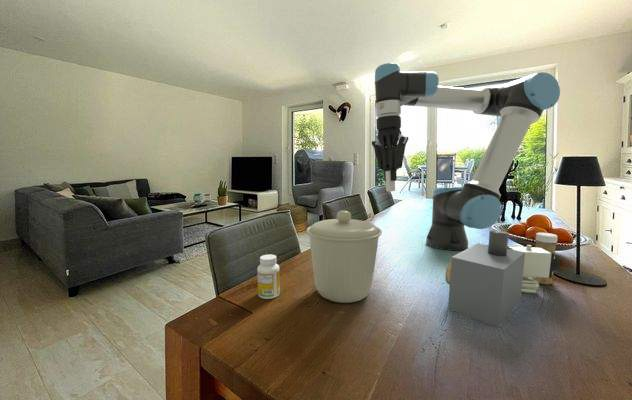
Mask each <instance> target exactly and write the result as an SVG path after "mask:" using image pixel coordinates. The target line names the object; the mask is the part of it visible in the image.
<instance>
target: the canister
mask: <svg viewBox="0 0 632 400" xmlns="http://www.w3.org/2000/svg"><path fill="white" fill-rule="evenodd" d="M382 231H383V230H382V229H380V227H377V226H376V225H375V224H373V223H371V222H369V221H366V220H365V221H364V220H361V219H352V213H351V212H350V211H348V210H339V211H338V212H337V214H336V218H331V219H324V220H320V221H316V222H314V223H313V224H311V225H310V226H308V227H307V228H306V234H308V236H309V243H310V244H309V245H310V254H311V263H312V269H313V271H312V273H313V277H314V284H315V287H316V288H315V289H316V290H317V292H318V295H321V297H323V298H324V299H325V300H327V301H330V302H334V303H338V304H339V303H341V304H350V303H355V302H359V301H362V300H363V299H365V298H366V297H367V296H368V295H369V293H370V291H371V288H372V284H373V278H374V277H373V276H374V272H375V266H376V259H377V252H378V246H379V237H380V236H381V235H382V234H383V233H382Z"/></svg>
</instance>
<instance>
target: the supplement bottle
mask: <svg viewBox="0 0 632 400" xmlns="http://www.w3.org/2000/svg"><path fill="white" fill-rule="evenodd" d="M259 262H260V263H259V264H258V266H257V269H256V270H257V295H258V297H259V298H261V299H264V300H271V299H275V298H277V297H278V296H279V295H280V293H281V286H280V285H281V284H280V282H281V281H280V279H281V277H280V271H281V270H280V265H279V264H278V263H277V255H275V254H263V255H260V257H259Z"/></svg>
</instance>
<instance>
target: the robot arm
mask: <svg viewBox="0 0 632 400" xmlns="http://www.w3.org/2000/svg"><path fill="white" fill-rule="evenodd" d="M400 68H401V67H400V64H398V63H395V62H386V63H383V64H380V65H378V66H377V68H376V69H375V70H374V88H375V89H374V91H375V112H376V113H375V114H376V115H375V117H377V118H376V121H375V122H376V130H377V135H376V137H377V138H376V139H375V140H372V141H371V145H372V147H373V151H374V153H375V158H376V163H377V167H378V169H379V170H381V171H383V179H384V182H385V192H395V191H396V181H397V179H398V178H397V171H398V170H399V169H402V167H403V163H404V156H405V151H406V145H407V143H408V141H409V137H408V136H405V135H403V134H402V131H401V127H402V117H401V116H400V115H401V114H402V113H401V112H402V108H401V107H402V106H414V107H424V108H435V109H437V108H438V109H447V110H448V109H450V110H458V111H459V110H460V111H461V110H462V111H472V112H473V113H474V114H477V115H485V116H494V117H495V116H496V117H501V119H500V122H499V124H498V125H497V128H496V129H495V132H494V133H493V136H492V138H491V140H490V141H489V144H488V146H487V148H486V150H485V152H484V155H482V158H481V160H480V163H479V164H478V167H477V169H476V170H475V173H474V175H473V177H472V179H471V180H470V181H467V182H465V183H464V184H463V186H450V187H449V186H448V187H447V186H444V187H437V188H434V191H433V195H432V214H431V218H432V219H431V226H430V229H429V230H428V233H427V235H426V239H425V240H426V241H425V243H426V244H427V245H428V246H429V245H431V246H430V247H432V246H433V247H432V248H435V247H437V248H436V249H439V248H441V249H440V250H445V249H447V251H464V250H466V249H468V248H469V239H468V236H467V233H466V229H465V226H466V227H467V228H471V229H476V230H485V229H487V228H490V227H492V226H494V225H495V224H496V223H497V221H499V219H500V218H501V216H502V212H503V209H502V202H501V201H500V199H501V197H502V194H501V193H500V190H499V189H500V187H501V186H502V184H503V181H504V179H505V178H506V175H507V173H508V172H509V168H511V165H512V163H513V162H514V159H515V157H516V155H517V153H518V151H519V148H520V147H521V145H522V142H523V141H524V139H525V136H526V135H527V133H528V130H529V128H530V127H531V125H533V124H535V123H537V122H538V121H539V120H540V118H541V117H542V114H543V113H544V111H545V110H549V109H551V108H552V107H554V106H555V105H556V104H557V103H558V101H559V99H560V95H561V87H560V85H559V82H558V80H557V79H556V77H555V76H553V75H552V74H551V73H548V72H543V71H541V72H540V71H539V72H536V73H531V74H529V75H527V76H525V77H521V78H519V79H516V80H512V81H510V82H506V83H503V84H501V85H497V86H491V87H490V86H489V87H487V86H482V87H479V89H478V88H477V89H476V88H468V87H467V88H464V87H457V86H456V87H453V86H443V85H439V84H440V83H439V82H440V81H439V80H440V79H439V75H438V74H437V72H435V71H428V70H424V71H423V70H422V71H401V69H400Z"/></svg>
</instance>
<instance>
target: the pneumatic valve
mask: <svg viewBox="0 0 632 400" xmlns="http://www.w3.org/2000/svg"><path fill="white" fill-rule="evenodd" d="M507 249H510V250H516V251H521V252H525V257H524V268H523V278H522V288H521V294H523V293H524V294H536V293H537V291H538V290H539V288H540V283H538V281H536V280H533V279H532V277H533V278H535V277H544V278H552V279H553V275H554V273H557V272H558V270H559V268H560V260H559V258H558V256H557V255H556V254H555V255H554V253H552V252H550V251H548V250H546V249H544V248H535V247H532V245H530V244H527V245H526V246H512V245H511V246H510V245H507Z"/></svg>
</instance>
